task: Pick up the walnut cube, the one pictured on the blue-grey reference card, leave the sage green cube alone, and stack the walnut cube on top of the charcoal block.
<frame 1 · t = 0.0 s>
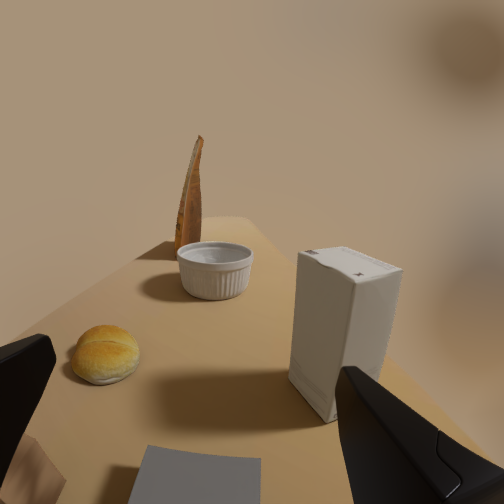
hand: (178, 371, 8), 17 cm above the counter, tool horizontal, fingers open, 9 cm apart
walnut cube: (26, 491, 11), on the counter
bread roll: (107, 363, 31), on the counter
pancake mix bag: (190, 251, 74), on the counter
ramekin: (215, 288, 53), on the counter
skincare box: (325, 393, 28), on the counter
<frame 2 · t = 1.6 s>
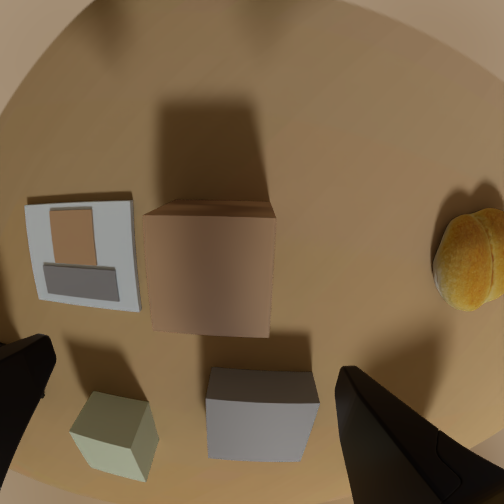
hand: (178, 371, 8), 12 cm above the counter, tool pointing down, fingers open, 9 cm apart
charcoal block: (258, 402, 24), on the counter
walnut cube: (221, 245, 19), on the counter
bread roll: (470, 254, 20), on the counter
sage cube: (126, 416, 25), on the counter
reference card: (78, 254, 20), on the counter
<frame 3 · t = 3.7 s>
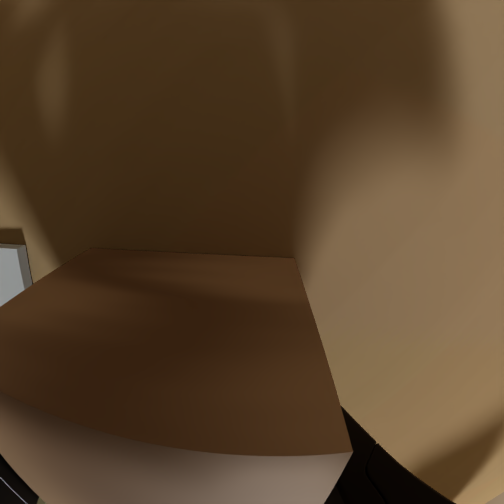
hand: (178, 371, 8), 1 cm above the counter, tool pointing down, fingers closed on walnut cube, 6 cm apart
walnut cube: (188, 344, 9), on the counter, touching gripper
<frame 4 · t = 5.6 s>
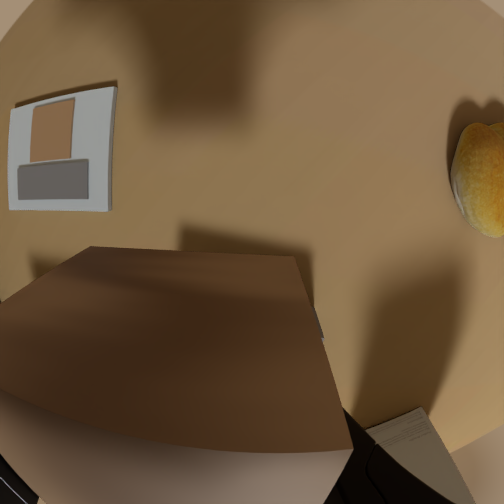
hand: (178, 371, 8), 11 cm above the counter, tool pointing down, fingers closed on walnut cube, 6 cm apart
walnut cube: (188, 342, 9), point 10 cm above the counter, touching gripper
bread roll: (488, 175, 16), on the counter
reference card: (54, 153, 16), on the counter
skincare box: (387, 432, 23), on the counter
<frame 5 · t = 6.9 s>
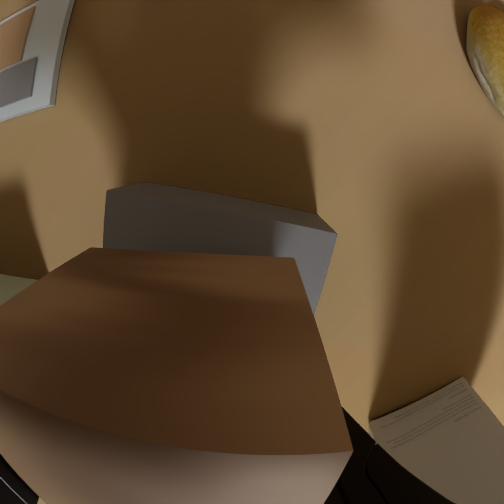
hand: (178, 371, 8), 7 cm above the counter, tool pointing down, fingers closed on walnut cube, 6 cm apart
charcoal block: (215, 277, 14), on the counter
walnut cube: (188, 343, 9), point 5 cm above the counter, touching gripper
sage cube: (31, 317, 16), on the counter
reference card: (8, 63, 11), on the counter
skincare box: (419, 415, 17), on the counter
when the fingers open (7 cm above the counter, at t = 7.6 s): walnut cube drops 2 cm, point 4 cm above the counter.
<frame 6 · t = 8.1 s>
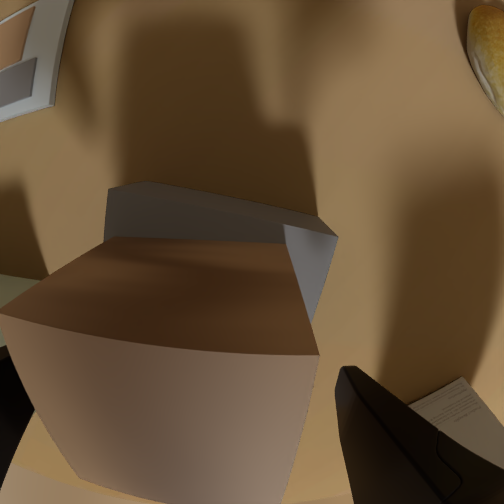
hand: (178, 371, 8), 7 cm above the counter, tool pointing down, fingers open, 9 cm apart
charcoal block: (214, 277, 14), on the counter
walnut cube: (196, 319, 11), point 4 cm above the counter
sage cube: (31, 318, 16), on the counter
reference card: (8, 63, 10), on the counter
skincare box: (419, 415, 17), on the counter
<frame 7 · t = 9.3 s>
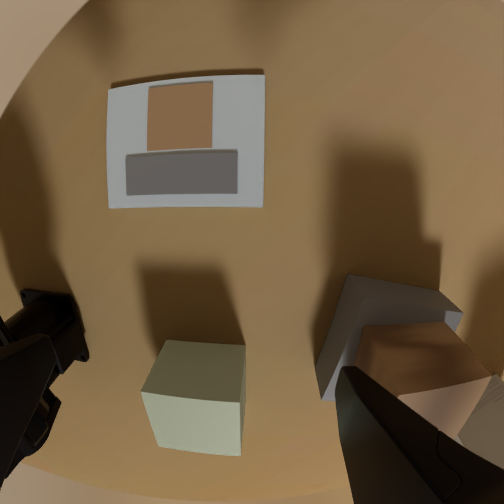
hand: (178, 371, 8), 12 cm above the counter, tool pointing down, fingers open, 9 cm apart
charcoal block: (377, 328, 21), on the counter, touching walnut cube
walnut cube: (395, 362, 17), point 4 cm above the counter, touching charcoal block
sage cube: (207, 372, 22), on the counter
reference card: (181, 141, 17), on the counter
skincare box: (468, 401, 23), on the counter
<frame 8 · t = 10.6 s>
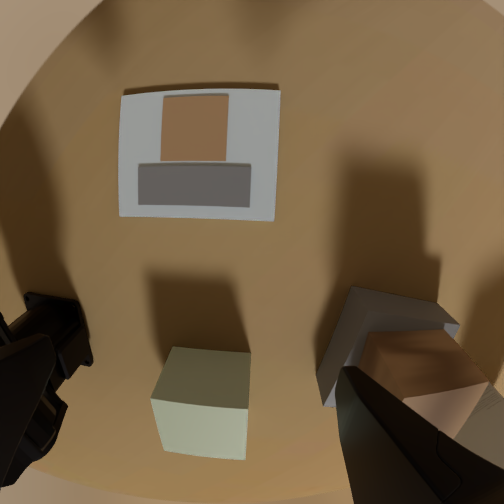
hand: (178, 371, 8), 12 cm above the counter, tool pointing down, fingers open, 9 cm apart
charcoal block: (377, 338, 21), on the counter, touching walnut cube
walnut cube: (396, 367, 18), point 4 cm above the counter, touching charcoal block
sage cube: (212, 378, 22), on the counter
reference card: (194, 152, 17), on the counter
skincare box: (461, 408, 24), on the counter
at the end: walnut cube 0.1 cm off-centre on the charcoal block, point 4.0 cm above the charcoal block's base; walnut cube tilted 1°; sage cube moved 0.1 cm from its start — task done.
